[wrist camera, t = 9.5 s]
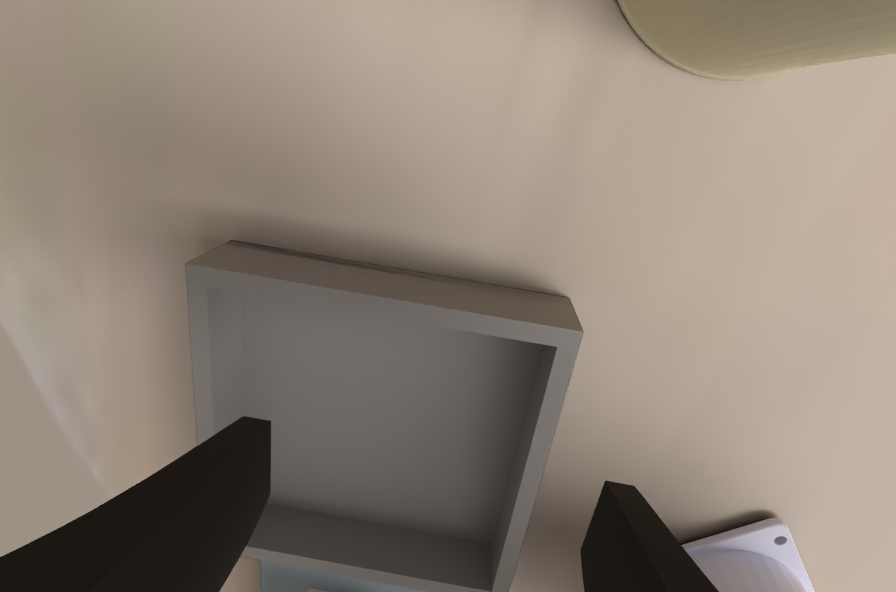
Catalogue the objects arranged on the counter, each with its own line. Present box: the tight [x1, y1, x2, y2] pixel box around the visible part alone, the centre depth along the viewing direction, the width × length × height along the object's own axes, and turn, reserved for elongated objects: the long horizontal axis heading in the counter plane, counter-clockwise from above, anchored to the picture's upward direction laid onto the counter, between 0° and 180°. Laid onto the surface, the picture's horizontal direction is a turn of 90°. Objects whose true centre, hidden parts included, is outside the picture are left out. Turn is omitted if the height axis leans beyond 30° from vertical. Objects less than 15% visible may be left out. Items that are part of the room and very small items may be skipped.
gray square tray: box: [185, 240, 583, 592], centre depth 20 cm, size 13×13×3 cm
